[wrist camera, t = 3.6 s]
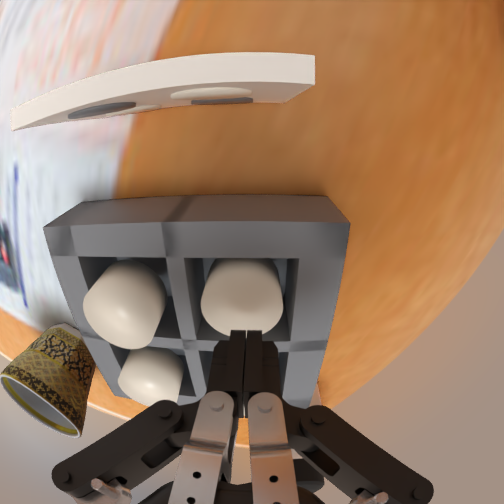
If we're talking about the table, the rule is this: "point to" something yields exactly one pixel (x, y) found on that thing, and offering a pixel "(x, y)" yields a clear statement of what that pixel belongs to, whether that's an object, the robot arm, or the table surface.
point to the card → (173, 87)
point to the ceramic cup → (53, 379)
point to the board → (197, 268)
